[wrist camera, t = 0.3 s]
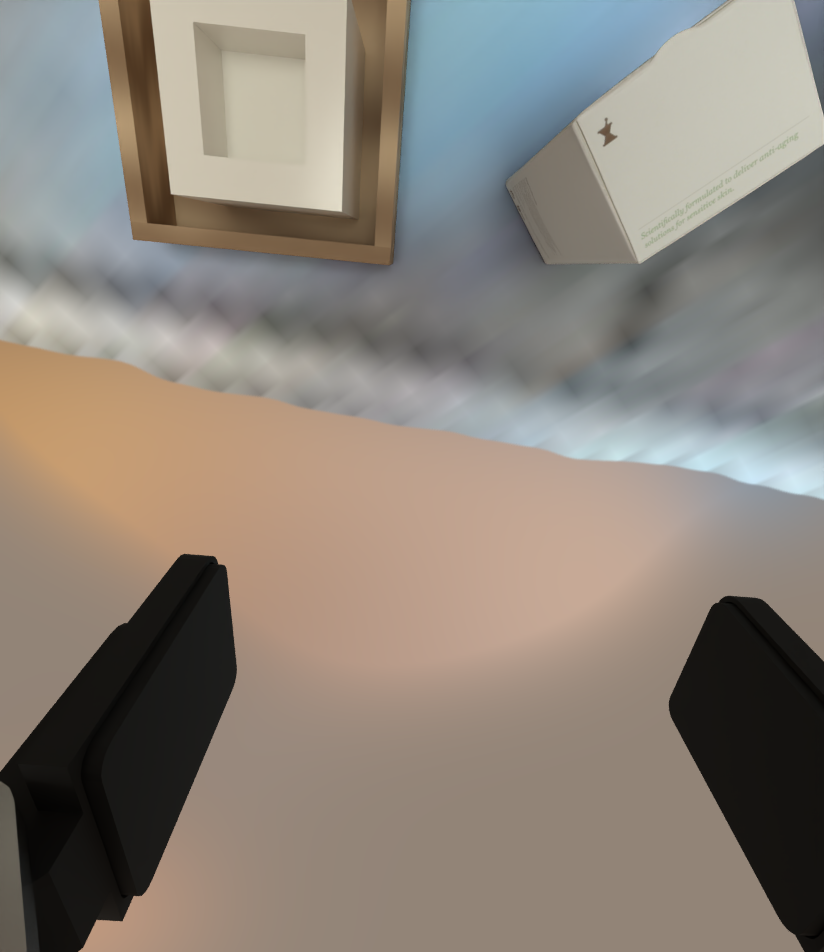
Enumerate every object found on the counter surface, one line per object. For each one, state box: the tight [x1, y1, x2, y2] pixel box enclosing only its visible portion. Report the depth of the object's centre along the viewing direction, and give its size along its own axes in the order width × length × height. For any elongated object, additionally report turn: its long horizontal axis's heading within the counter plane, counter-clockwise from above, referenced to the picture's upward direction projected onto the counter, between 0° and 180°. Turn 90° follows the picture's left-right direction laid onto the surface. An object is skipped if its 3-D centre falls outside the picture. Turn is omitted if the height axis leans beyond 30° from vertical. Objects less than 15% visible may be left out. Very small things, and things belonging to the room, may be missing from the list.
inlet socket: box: [150, 0, 365, 220], centre depth 27 cm, size 9×9×8 cm
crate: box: [99, 0, 411, 265], centre depth 28 cm, size 18×16×5 cm
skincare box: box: [506, 0, 824, 264], centre depth 25 cm, size 8×7×16 cm
